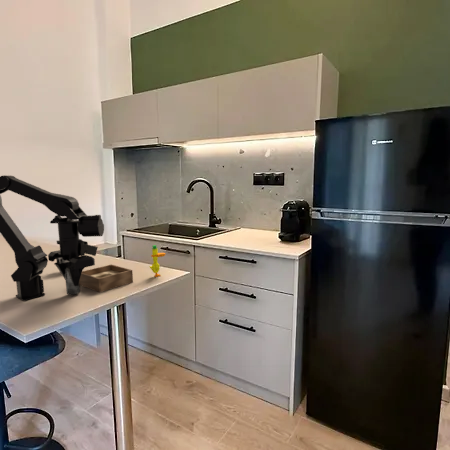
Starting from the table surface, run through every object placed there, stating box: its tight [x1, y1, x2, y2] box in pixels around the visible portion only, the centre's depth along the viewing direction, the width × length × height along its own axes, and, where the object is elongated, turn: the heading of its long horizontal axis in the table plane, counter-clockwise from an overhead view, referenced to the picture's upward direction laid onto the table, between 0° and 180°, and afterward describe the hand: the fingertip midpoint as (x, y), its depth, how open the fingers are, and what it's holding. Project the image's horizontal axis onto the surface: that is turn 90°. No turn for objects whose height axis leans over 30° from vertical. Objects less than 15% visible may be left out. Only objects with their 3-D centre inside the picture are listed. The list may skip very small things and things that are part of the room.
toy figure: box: [148, 245, 167, 278], centre depth 125 cm, size 7×4×12 cm, turn 119°
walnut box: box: [79, 264, 134, 293], centre depth 117 cm, size 13×13×4 cm
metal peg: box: [64, 268, 81, 295], centre depth 106 cm, size 4×4×8 cm
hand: (72, 284), depth 106 cm, fingers closed on metal peg, 4 cm apart
